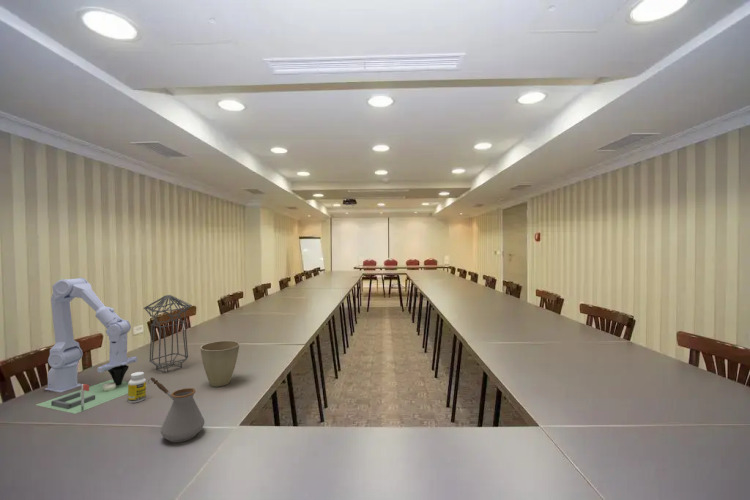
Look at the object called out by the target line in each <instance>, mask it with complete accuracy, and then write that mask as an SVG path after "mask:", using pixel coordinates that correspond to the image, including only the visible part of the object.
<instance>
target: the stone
mask: <svg viewBox="0 0 750 500" xmlns="http://www.w3.org/2000/svg"><path fill="white" fill-rule="evenodd" d="M114 389H116V383H107V384H104V385H103V391H111V390H114Z"/></svg>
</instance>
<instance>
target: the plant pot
mask: <svg viewBox="0 0 750 500" xmlns="http://www.w3.org/2000/svg"><path fill="white" fill-rule="evenodd" d="M239 349H240V343H239V342H238V341H236V340H220V341H218V340H217V341H213V342H212V341H211V342H208V343H205V344H202V345H200V355H201V359H202V360H201V361H202V364H203V368H204V372H205V375H206V377H207V378H206V379H207V381H208V382H209V385H210V386H211V387H223V386H225V385H228V384H229V383H230V382H231V379H232V377H233V374H234V370H235V367H236V364H237V360H238V356H239V354H238V353H239Z"/></svg>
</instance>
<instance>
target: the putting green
mask: <svg viewBox="0 0 750 500" xmlns="http://www.w3.org/2000/svg"><path fill="white" fill-rule="evenodd" d="M107 383H114V381H113V379H109V380H106V381H103V382H100V383H96V384H94V385H91V386H89V391H85V390H84V398H86V397H89V396H92V395H95V400H92V401H89V402H87V403H84V410H83V411H86V410H88V409H91V408H94V407H97V406H99V405H102V404H104V403H107V402H109V401H112V400H115V399H117V398H120V397H122V396H125V395H128V383H129V381H124V380H122V384H121V385H119V386H117V385H116V389H114V390H111V391H103V385H104V384H107ZM146 387H148V385H147V384H146ZM77 392H80V397H77V398H75V399H72V400H69V401H66V403H72V402H75V401H78V400H80V399H81V389H79V390H75V391H73V392H69V393H67V394H64V395H61V396H58V397H55V398H52V399H49V400H46V401H44V402H43V401H42V402H40V403H37V404H35V406H38V407H42V408H48V409H51V410H57V411H61V412H64V413H70V414H74V415H76V414H79V413H81V412H83V411H81V405H78V406H76V407H73V408H70V409H65V408H61V407H56V406H51V401H54V400H57V399H60V398H63V397H66V396H69V395H72V394H75V393H77Z"/></svg>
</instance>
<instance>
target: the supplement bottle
mask: <svg viewBox="0 0 750 500" xmlns="http://www.w3.org/2000/svg"><path fill="white" fill-rule="evenodd" d="M144 376H145V372H143V371H136V372H133V373H131V374H130V380H129V381H128V382H129V383H128V394H127V402H128V403H132V404H133V403H134V404H135V403H140V402H143V401H144V400H145V399H146V397H147V395H146V394H147V386H146V385H147V379H146V378H145V377H144Z"/></svg>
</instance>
